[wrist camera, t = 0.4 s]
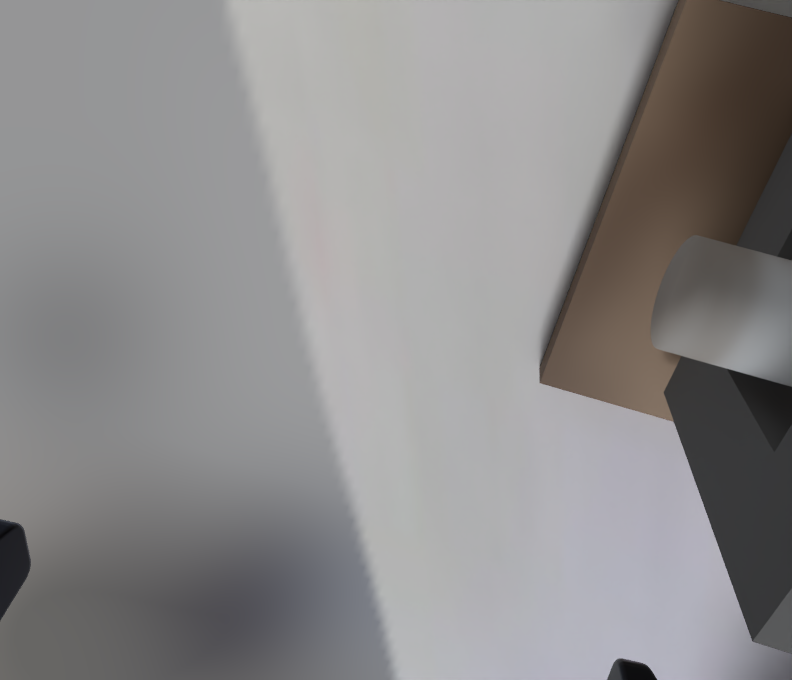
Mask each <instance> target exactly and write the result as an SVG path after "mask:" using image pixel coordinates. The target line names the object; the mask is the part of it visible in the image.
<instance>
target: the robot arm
mask: <svg viewBox="0 0 792 680" xmlns="http://www.w3.org/2000/svg"><path fill="white" fill-rule="evenodd" d="M30 566H31V560H30V555H29V550H28V546H27V541H26V536H25V532H24V529H23V527H22V526H21V525H20V524H18V523H15V522H10V521H6V520H1V519H0V620H1V618H2V617H3V615H4V614H5V612H6V611H7V609H8V607H9V606H10V604H11V602H12V601H13V599H14V598H15V596H16V594H17V593H18V591H19V589H20V588H21V586H22V585H23V583H24V581H25V580H26V578H27V576H28V573H29V570H30ZM607 680H657V679H656V677H655V675H654V674H653V672H652V671H651V669H650V668H649V667H648V666H647V665H645V664H643V663H640V662H635V661H631V660H626V659H617V660H616V661H615V662H614V664H613V666H612V668H611V671H610V674H609V676H608V679H607Z"/></svg>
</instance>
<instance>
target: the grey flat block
mask: <svg viewBox="0 0 792 680" xmlns="http://www.w3.org/2000/svg"><path fill="white" fill-rule="evenodd" d="M736 246H739V247H743V248H747V249H750V250H754V251H758V252H762V253H765V254H769V255H773V256H777V257H780V258H784V259H788V260H792V134H791V136H790V138H789V140H788V142H787V144H786V146H785V148H784V150H783V152H782V154H781V156H780V158H779V160H778V162H777V164H776V166H775V168H774V170H773V172H772V174H771V176H770V178H769V180H768V182H767V184H766V186H765V188H764V190H763V193H762V195H761V197H760V199H759V201H758V203H757V205H756V207H755V209H754V211H753V213H752V215H751V217H750V219H749V221H748V223H747V225H746V227H745V229H744V231H743V233H742V235H741V237H740V239H739V241H738V243H737V245H736ZM664 395H665V398H666V401H667V404H668V406H669V409H670V412H671V415H672V418H673V420H674V423H675V426H676V429H677V432H678V434H679V437H680V440H681V443H682V446H683V448H684V451H685V454H686V457H687V459H688V462H689V465H690V468H691V471H692V473H693V476H694V479H695V482H696V485H697V487H698V490H699V493H700V496H701V499H702V501H703V504H704V507H705V510H706V513H707V515H708V518H709V521H710V524H711V527H712V529H713V532H714V535H715V538H716V541H717V543H718V546H719V549H720V552H721V555H722V557H723V560H724V563H725V566H726V568H727V571H728V574H729V577H730V580H731V582H732V585H733V588H734V591H735V594H736V596H737V599H738V602H739V605H740V608H741V610H742V613H743V616H744V619H745V622H746V624H747V627H748V630H749V633H750V636H751V638H752V641H753V642H756V643H759V644H762V645H766V646H769V647H772V648H775V649H778V650H782V651H785V652H788V653H791V654H792V387H790V386H787V385H783V384H780V383H776V382H773V381H769V380H766V379H762V378H758V377H755V376H751V375H748V374H744V373H741V372H737V371H734V370H730V369H726V368H723V367H719V366H716V365H712V364H709V363H705V362H702V361H698V360H694V359H691V358H687V357H684V356H681V358H680V360H679V362H678V364H677V366H676V368H675V370H674V372H673V374H672V376H671V378H670V380H669V382H668V384H667V386H666V388H665V390H664Z"/></svg>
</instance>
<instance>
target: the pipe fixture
mask: <svg viewBox="0 0 792 680" xmlns="http://www.w3.org/2000/svg"><path fill="white" fill-rule="evenodd" d="M791 134H792V18H791V17H787V16H783V15H778V14H774V13H770V12H766V11H762V10H758V9H754V8H749V7H745V6H741V5H737V4H733V3H729V2H724V1H720V0H679V1H678V3H677V6H676V9H675V11H674V14H673V17H672V19H671V22H670V25H669V27H668V30H667V32H666V35H665V38H664V40H663V43H662V46H661V48H660V51H659V54H658V56H657V59H656V62H655V64H654V67H653V69H652V72H651V75H650V77H649V80H648V83H647V85H646V88H645V91H644V93H643V96H642V99H641V101H640V104H639V106H638V109H637V112H636V114H635V117H634V120H633V122H632V125H631V128H630V130H629V133H628V136H627V138H626V141H625V143H624V146H623V149H622V151H621V154H620V157H619V159H618V162H617V165H616V167H615V170H614V173H613V175H612V178H611V180H610V183H609V186H608V188H607V191H606V194H605V196H604V199H603V202H602V204H601V207H600V210H599V212H598V215H597V217H596V220H595V223H594V225H593V228H592V231H591V233H590V236H589V239H588V241H587V244H586V247H585V249H584V252H583V254H582V257H581V260H580V262H579V265H578V268H577V270H576V273H575V276H574V278H573V281H572V284H571V286H570V289H569V291H568V294H567V297H566V299H565V302H564V305H563V307H562V310H561V313H560V315H559V318H558V321H557V323H556V326H555V328H554V331H553V334H552V336H551V339H550V342H549V344H548V347H547V350H546V352H545V355H544V358H543V360H542V363H541V365H540V383H542V384H545V385H549V386H552V387H556V388H559V389H562V390H566V391H569V392H573V393H576V394H580V395H583V396H587V397H590V398H594V399H597V400H601V401H604V402H607V403H611V404H614V405H618V406H621V407H625V408H628V409H632V410H635V411H639V412H642V413H646V414H649V415H652V416H656V417H659V418H663V419H666V420H670V421H673V422H674V420H673V418H672V415H671V412H670V409H669V406H668V404H667V401H666V398H665V395H664V390H665V388H666V386H667V384H668V382H669V380H670V378H671V376H672V374H673V372H674V370H675V368H676V366H677V364H678V362H679V360H680V358H681V356H684V357H687V358H691V359H694V360H698V361H702V362H705V363H709V364H712V365H716V366H719V367H723V368H726V369H730V370H734V371H737V372H741V373H744V374H748V375H751V376H755V377H758V378H762V379H766V380H769V381H773V382H776V383H780V384H783V385H787V386H790V387H792V260H788V259H784V258H780V257H777V256H773V255H769V254H765V253H762V252H758V251H754V250H750V249H747V248H743V247H739V246H736V245H737V243H738V241H739V239H740V237H741V235H742V233H743V231H744V229H745V227H746V225H747V223H748V221H749V219H750V217H751V215H752V213H753V211H754V209H755V207H756V205H757V203H758V201H759V199H760V197H761V195H762V193H763V190H764V188H765V186H766V184H767V182H768V180H769V178H770V176H771V174H772V172H773V170H774V168H775V166H776V164H777V162H778V160H779V158H780V156H781V154H782V152H783V150H784V148H785V146H786V144H787V142H788V140H789V138H790V136H791Z"/></svg>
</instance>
